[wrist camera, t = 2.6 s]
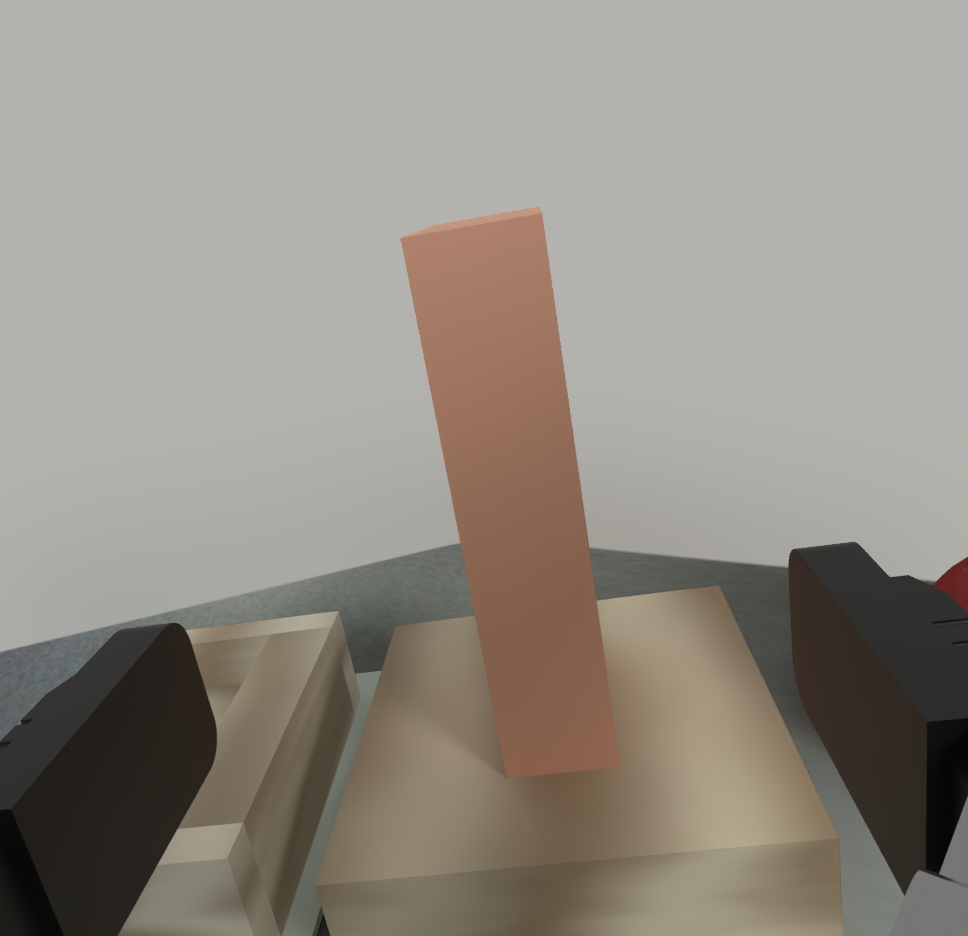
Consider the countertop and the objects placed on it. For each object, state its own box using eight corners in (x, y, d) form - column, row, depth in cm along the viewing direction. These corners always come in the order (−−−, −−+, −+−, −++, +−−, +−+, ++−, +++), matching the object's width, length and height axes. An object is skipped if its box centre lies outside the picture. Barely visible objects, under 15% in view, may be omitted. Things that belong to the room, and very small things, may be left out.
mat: (391, 675, 35) (389, 669, 35) (283, 1052, 20) (280, 1043, 19) (149, 704, 36) (147, 698, 36) (-128, 1080, 21) (-132, 1072, 21)
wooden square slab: (727, 679, 30) (718, 585, 29) (844, 971, 19) (839, 837, 18) (416, 714, 32) (395, 625, 30) (352, 1008, 20) (315, 885, 19)
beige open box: (361, 697, 33) (338, 611, 32) (267, 977, 21) (226, 858, 20) (148, 721, 34) (119, 638, 33) (-52, 1002, 22) (-111, 891, 21)
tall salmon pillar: (601, 644, 27) (538, 206, 22) (620, 766, 21) (542, 213, 17) (511, 655, 27) (433, 225, 23) (507, 778, 21) (400, 237, 17)
